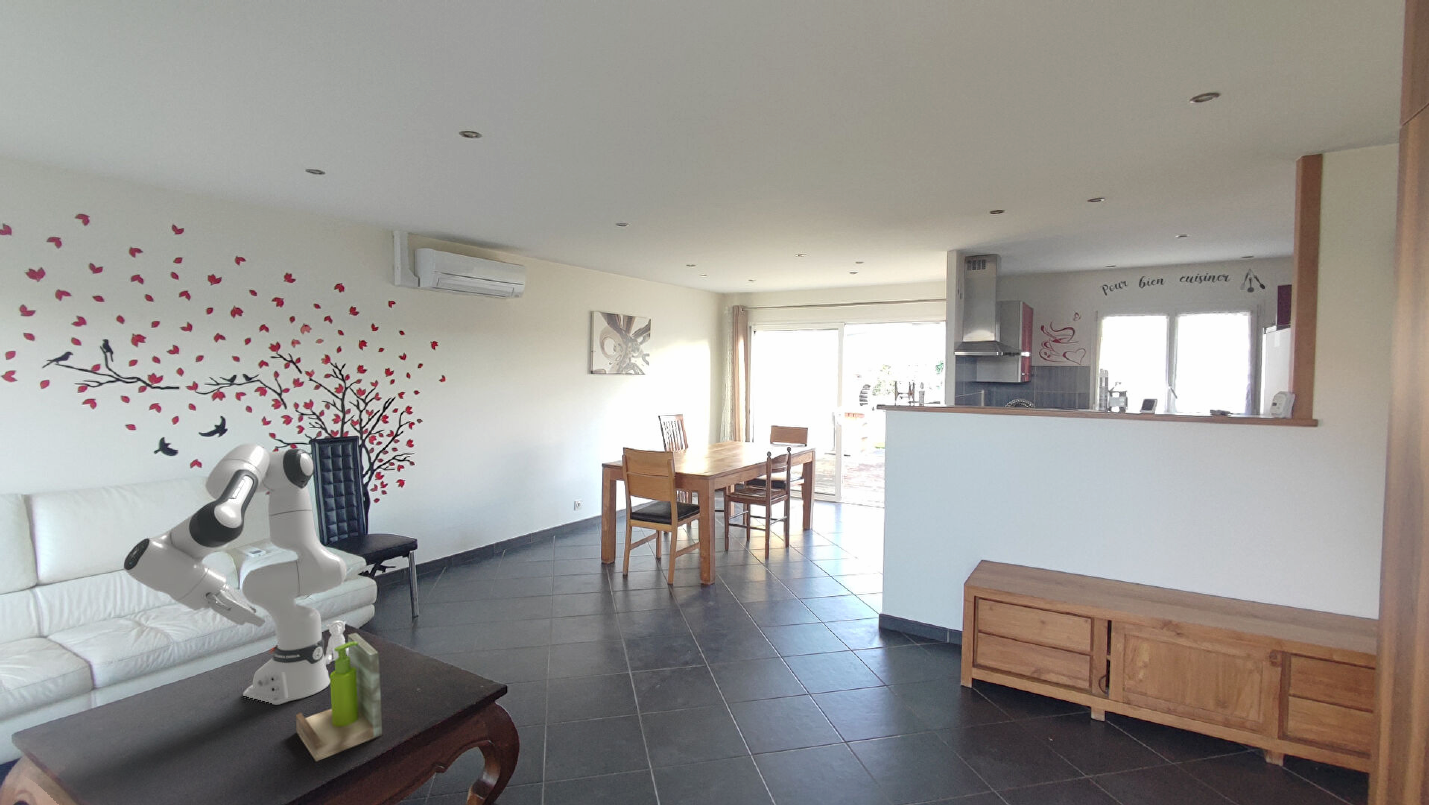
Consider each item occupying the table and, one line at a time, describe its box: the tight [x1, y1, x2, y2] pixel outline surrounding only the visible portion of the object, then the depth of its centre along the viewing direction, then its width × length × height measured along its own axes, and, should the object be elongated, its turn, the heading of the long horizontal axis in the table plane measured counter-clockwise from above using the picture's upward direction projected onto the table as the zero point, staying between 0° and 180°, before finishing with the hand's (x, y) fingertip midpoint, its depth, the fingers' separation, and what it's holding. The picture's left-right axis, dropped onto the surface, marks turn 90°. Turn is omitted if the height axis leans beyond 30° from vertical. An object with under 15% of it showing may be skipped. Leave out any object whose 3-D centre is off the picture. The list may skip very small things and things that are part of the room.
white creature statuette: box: [324, 620, 349, 666], centre depth 207 cm, size 10×9×12 cm
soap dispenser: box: [329, 641, 358, 727], centre depth 164 cm, size 6×7×20 cm
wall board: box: [295, 632, 383, 762], centre depth 163 cm, size 15×18×22 cm
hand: (258, 618), depth 151 cm, fingers open, 8 cm apart
